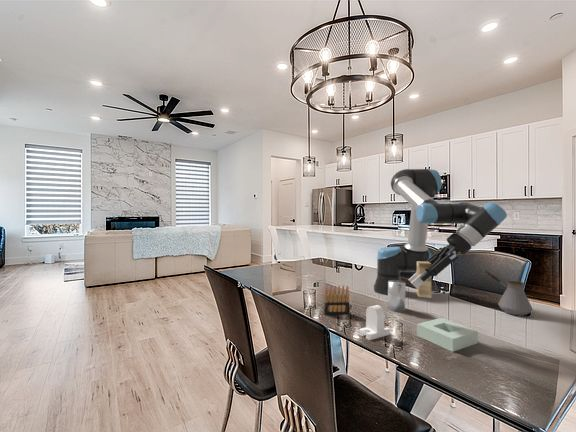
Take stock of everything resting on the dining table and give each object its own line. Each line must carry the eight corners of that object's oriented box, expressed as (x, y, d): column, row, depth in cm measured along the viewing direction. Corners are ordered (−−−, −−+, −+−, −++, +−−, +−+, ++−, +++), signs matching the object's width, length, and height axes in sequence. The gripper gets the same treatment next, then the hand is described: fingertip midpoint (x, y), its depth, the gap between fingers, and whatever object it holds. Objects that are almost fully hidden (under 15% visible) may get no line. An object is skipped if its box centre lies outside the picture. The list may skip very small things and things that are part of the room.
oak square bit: (416, 293, 107) (416, 261, 107) (428, 294, 106) (428, 261, 106) (419, 296, 103) (419, 263, 103) (431, 297, 102) (431, 263, 102)
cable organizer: (390, 334, 102) (390, 306, 102) (369, 340, 97) (369, 310, 97) (379, 328, 107) (379, 301, 107) (358, 334, 102) (358, 306, 102)
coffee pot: (539, 316, 119) (540, 280, 119) (516, 318, 117) (517, 281, 117) (493, 300, 140) (494, 269, 140) (473, 301, 138) (473, 270, 138)
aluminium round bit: (395, 305, 133) (396, 279, 132) (408, 310, 126) (409, 282, 126) (384, 307, 129) (384, 281, 129) (396, 313, 123) (397, 284, 123)
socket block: (441, 328, 107) (441, 317, 107) (477, 343, 95) (478, 331, 95) (416, 335, 101) (417, 324, 101) (452, 351, 90) (452, 339, 90)
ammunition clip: (348, 312, 123) (348, 284, 123) (349, 314, 121) (350, 285, 121) (323, 313, 123) (323, 285, 122) (324, 314, 121) (324, 286, 120)
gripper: (447, 230, 111) (400, 271, 114) (464, 233, 94) (409, 282, 98) (462, 244, 110) (415, 285, 113) (482, 250, 93) (426, 298, 97)
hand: (412, 284), depth 105 cm, fingers closed on oak square bit, 4 cm apart
